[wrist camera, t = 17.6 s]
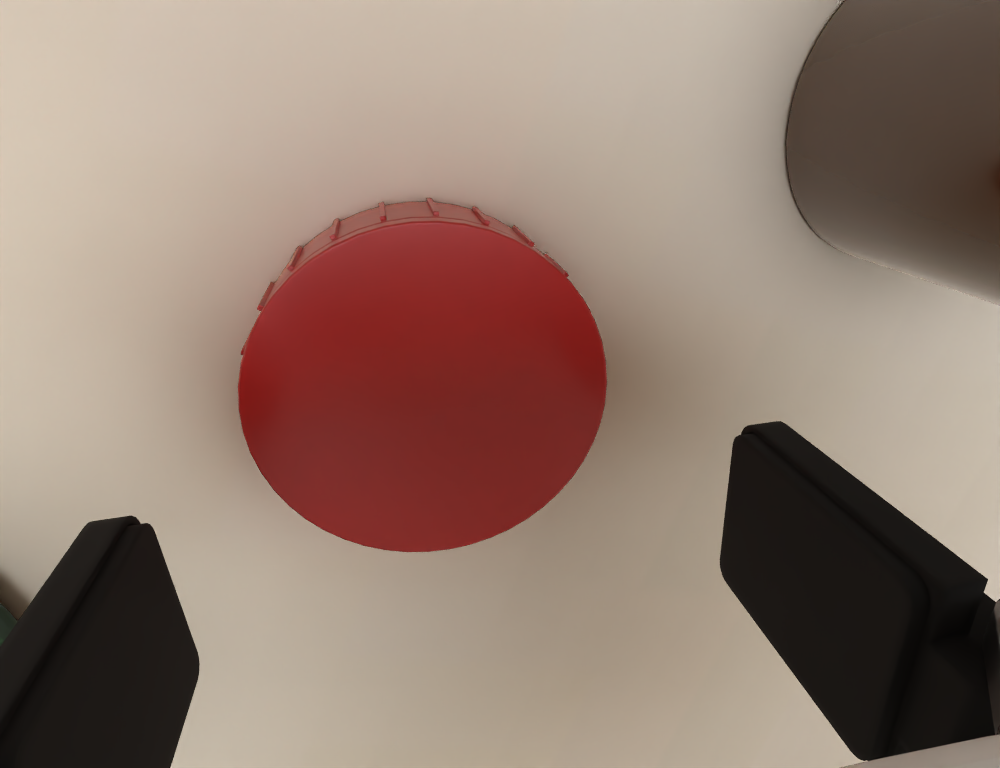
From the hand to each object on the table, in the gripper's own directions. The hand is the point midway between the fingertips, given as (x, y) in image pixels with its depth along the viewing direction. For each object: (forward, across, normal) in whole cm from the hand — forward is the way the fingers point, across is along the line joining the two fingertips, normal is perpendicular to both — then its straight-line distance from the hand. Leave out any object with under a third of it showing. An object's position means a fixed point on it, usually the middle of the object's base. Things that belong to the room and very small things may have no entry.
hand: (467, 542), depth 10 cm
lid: (+4, 0, -1) cm, 4 cm away
